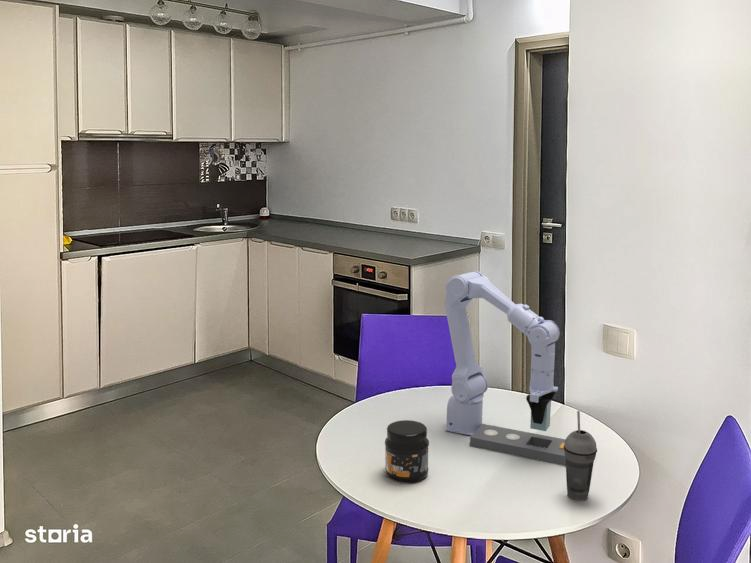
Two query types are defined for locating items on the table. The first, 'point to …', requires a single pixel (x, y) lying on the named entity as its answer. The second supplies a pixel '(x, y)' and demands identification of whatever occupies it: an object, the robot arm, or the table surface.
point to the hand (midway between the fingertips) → (540, 419)
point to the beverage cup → (579, 462)
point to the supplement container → (406, 451)
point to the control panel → (519, 443)
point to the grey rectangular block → (546, 420)
